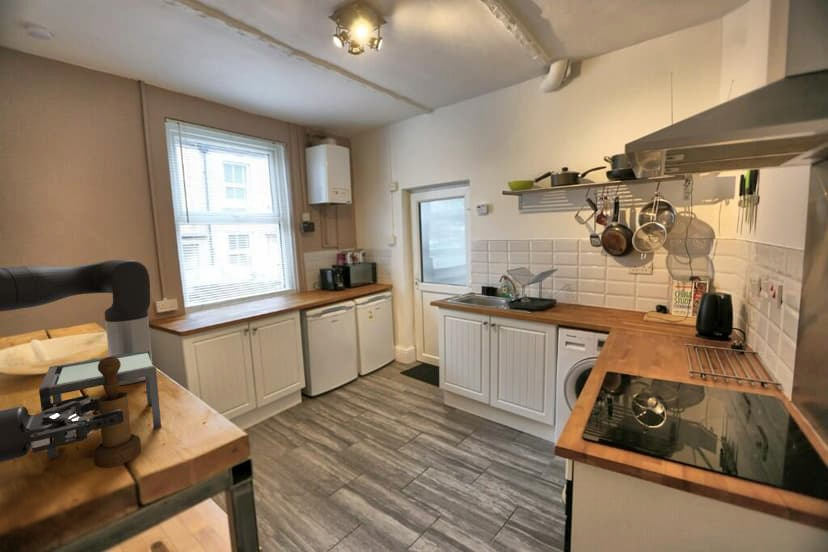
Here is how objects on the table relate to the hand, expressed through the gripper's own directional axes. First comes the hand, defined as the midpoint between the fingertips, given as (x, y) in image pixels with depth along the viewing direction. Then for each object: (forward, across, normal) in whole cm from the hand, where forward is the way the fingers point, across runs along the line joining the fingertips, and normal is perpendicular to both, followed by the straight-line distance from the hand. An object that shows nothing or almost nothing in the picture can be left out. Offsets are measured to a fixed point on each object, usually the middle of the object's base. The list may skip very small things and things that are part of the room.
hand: (122, 406), depth 63 cm
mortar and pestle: (-1, 0, -9) cm, 9 cm away
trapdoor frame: (-2, -15, -9) cm, 18 cm away
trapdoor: (-2, -15, +3) cm, 15 cm away
